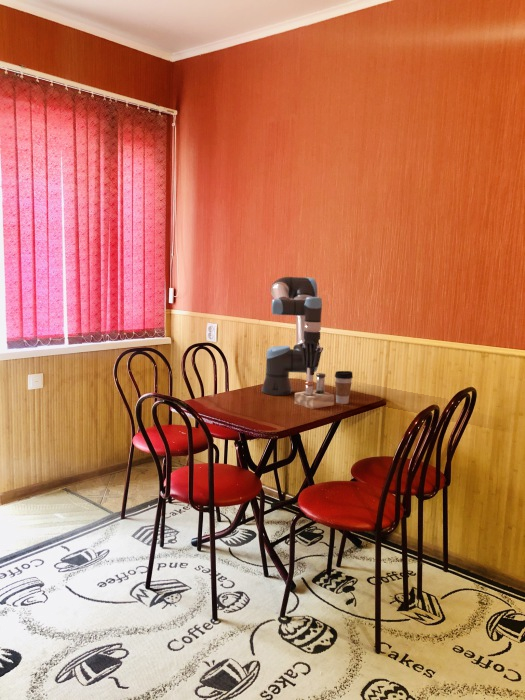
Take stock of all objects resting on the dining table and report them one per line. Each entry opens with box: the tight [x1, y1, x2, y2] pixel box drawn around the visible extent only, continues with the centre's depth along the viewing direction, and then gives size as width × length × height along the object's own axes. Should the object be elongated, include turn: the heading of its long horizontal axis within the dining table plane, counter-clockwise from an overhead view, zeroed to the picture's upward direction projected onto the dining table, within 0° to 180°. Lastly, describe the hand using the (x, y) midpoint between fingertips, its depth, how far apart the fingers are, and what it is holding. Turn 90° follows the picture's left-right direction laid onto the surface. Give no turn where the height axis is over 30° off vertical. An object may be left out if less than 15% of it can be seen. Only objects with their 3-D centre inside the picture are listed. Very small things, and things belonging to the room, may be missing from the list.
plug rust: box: [304, 380, 315, 396], centre depth 264 cm, size 4×4×9 cm
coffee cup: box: [334, 370, 353, 405], centre depth 272 cm, size 8×8×15 cm
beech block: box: [293, 389, 335, 410], centre depth 267 cm, size 12×14×5 cm
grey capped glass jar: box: [315, 372, 327, 394], centre depth 268 cm, size 4×4×9 cm
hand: (309, 381), depth 263 cm, fingers closed
